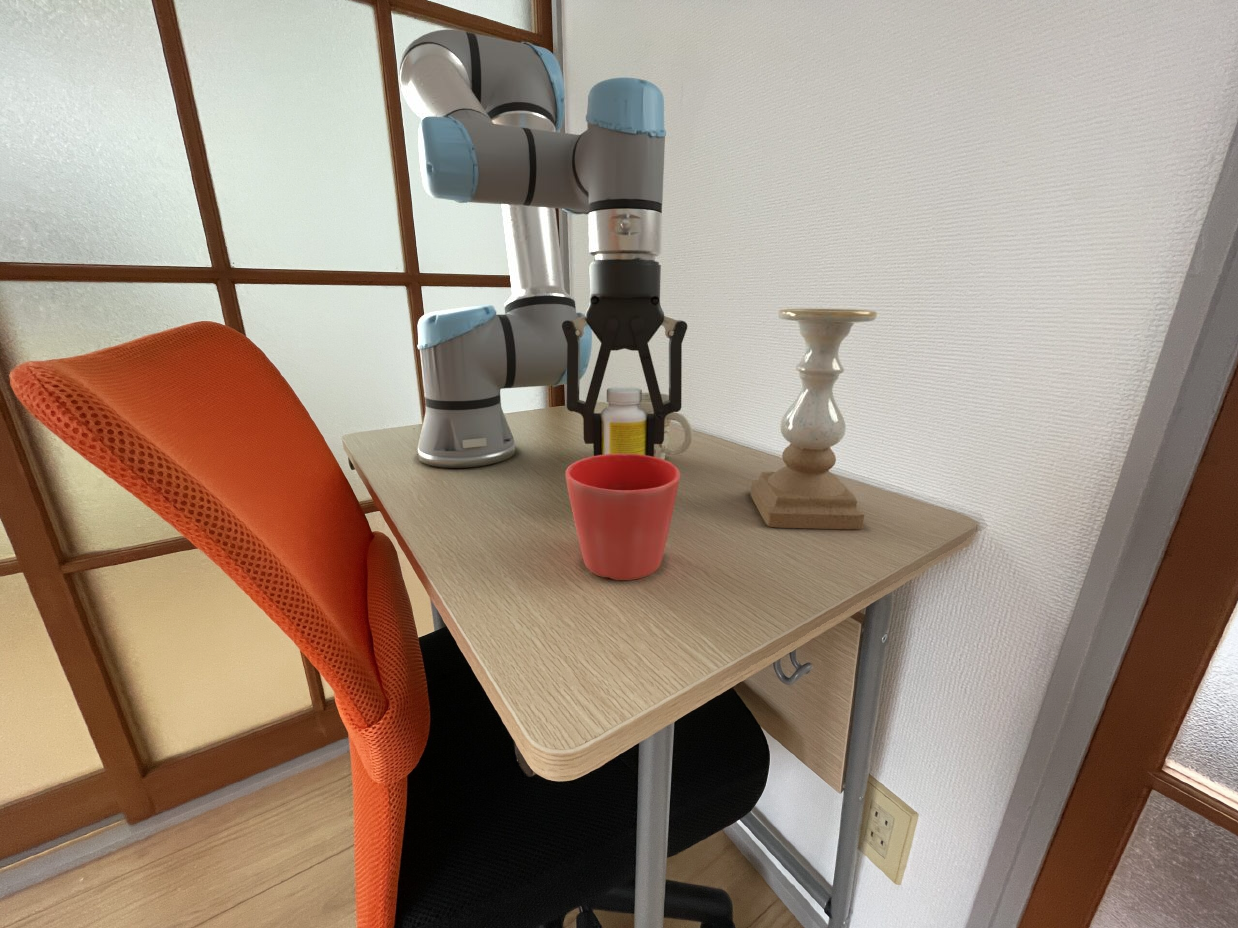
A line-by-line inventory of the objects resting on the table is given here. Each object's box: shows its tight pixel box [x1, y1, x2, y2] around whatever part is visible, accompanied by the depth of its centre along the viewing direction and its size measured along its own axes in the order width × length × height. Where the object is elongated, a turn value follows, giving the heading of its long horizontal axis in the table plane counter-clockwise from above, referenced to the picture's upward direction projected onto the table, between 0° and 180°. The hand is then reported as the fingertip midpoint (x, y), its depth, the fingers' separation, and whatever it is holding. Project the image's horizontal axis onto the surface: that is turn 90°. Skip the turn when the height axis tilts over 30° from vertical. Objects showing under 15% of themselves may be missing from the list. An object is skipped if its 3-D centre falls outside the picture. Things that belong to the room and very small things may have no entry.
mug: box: [639, 392, 694, 460], centre depth 83 cm, size 8×13×10 cm, turn 54°
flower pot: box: [565, 454, 681, 581], centre depth 51 cm, size 11×11×10 cm
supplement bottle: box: [600, 386, 647, 455], centre depth 61 cm, size 5×5×10 cm
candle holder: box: [750, 308, 878, 530], centre depth 62 cm, size 11×11×24 cm
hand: (623, 469), depth 62 cm, fingers closed on supplement bottle, 5 cm apart
